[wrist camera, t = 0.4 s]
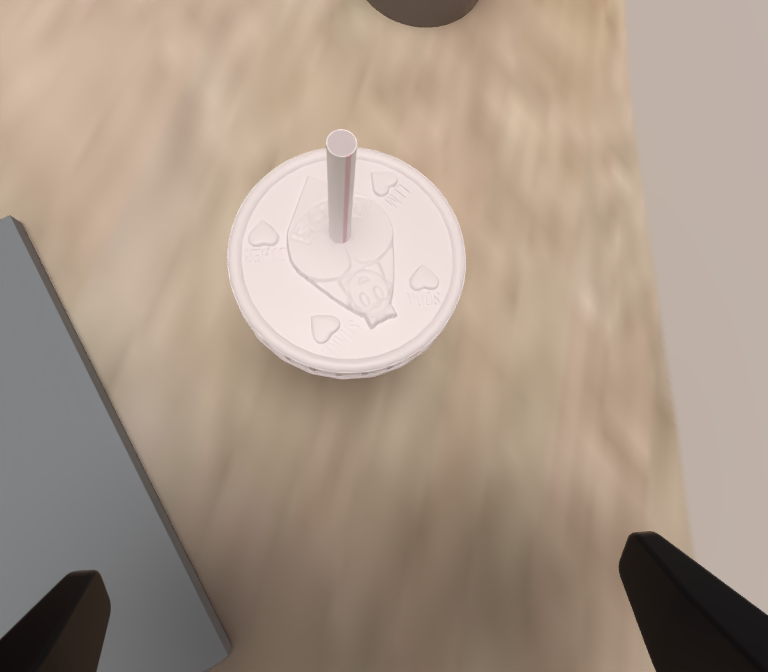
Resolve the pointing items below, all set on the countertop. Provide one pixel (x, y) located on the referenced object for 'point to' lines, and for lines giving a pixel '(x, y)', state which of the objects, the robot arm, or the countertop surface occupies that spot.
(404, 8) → the grey rounded canister
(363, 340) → the smoothie
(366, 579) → the countertop surface
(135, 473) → the slate mat
